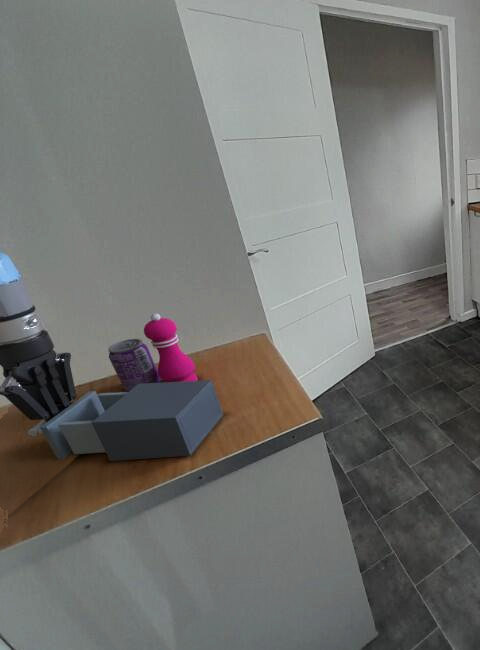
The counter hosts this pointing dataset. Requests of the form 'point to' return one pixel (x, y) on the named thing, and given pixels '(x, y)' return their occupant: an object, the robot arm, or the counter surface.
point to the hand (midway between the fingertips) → (70, 437)
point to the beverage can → (133, 363)
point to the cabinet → (159, 420)
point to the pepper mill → (169, 351)
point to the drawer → (77, 425)
